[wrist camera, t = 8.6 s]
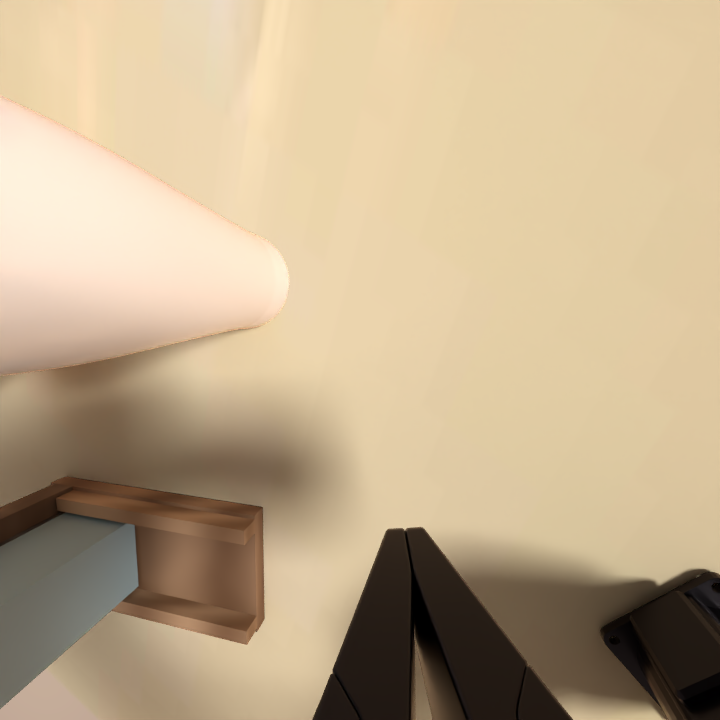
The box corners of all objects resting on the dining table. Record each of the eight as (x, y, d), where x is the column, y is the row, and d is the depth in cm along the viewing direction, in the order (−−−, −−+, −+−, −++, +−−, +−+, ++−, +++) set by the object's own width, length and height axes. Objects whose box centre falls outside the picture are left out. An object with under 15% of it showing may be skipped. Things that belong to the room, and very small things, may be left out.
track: (262, 507, 23) (152, 623, 15) (264, 619, 24) (163, 789, 16) (65, 476, 27) (-118, 555, 18) (74, 575, 28) (-94, 693, 19)
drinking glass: (254, 362, 22) (-112, 458, 8) (182, 284, 23) (-294, 232, 8) (328, 281, 20) (38, 203, 6) (248, 197, 21) (-205, -66, 6)
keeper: (135, 517, 24) (-93, 666, 14) (139, 587, 25) (-75, 779, 15) (73, 506, 25) (-179, 636, 15) (79, 573, 26) (-158, 742, 16)
